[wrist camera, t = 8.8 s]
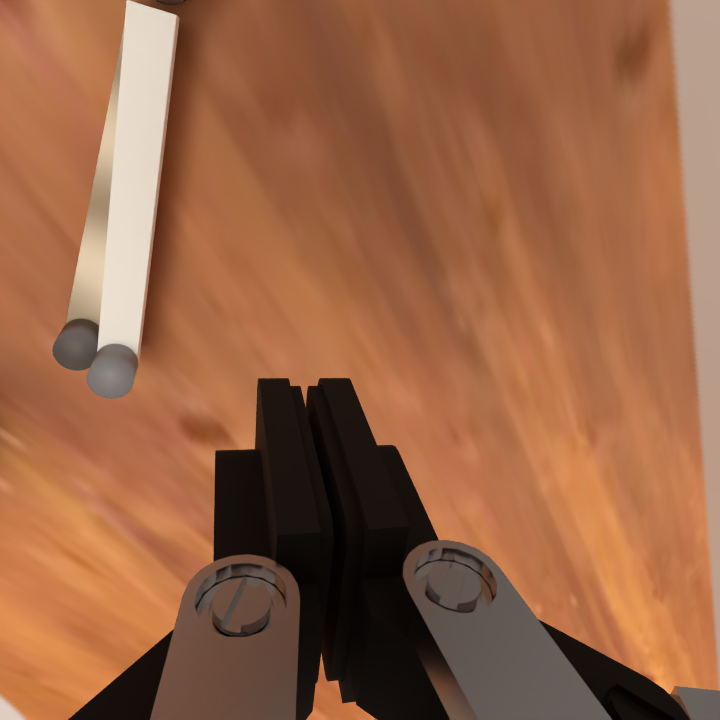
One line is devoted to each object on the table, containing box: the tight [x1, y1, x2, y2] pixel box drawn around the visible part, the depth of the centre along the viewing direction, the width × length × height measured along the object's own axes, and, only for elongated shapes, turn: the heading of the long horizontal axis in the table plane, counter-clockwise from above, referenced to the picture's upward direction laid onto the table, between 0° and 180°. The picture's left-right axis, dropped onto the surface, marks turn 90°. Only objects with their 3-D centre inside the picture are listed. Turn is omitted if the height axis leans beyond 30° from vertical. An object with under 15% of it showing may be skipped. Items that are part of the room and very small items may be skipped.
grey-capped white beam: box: [53, 0, 186, 370], centre depth 28 cm, size 22×3×6 cm, turn 159°
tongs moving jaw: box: [87, 0, 180, 399], centre depth 28 cm, size 18×2×4 cm, turn 165°
